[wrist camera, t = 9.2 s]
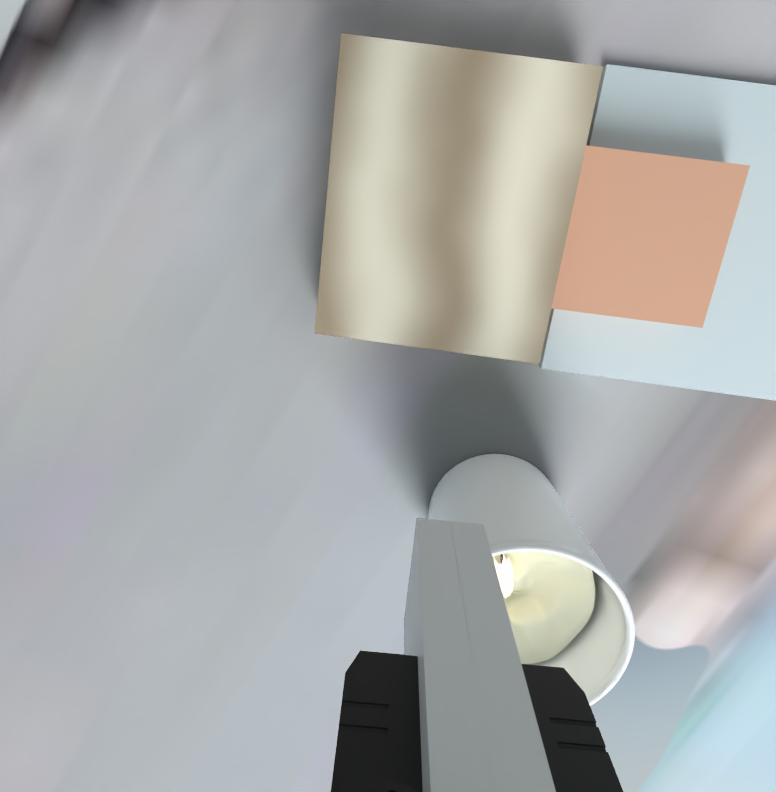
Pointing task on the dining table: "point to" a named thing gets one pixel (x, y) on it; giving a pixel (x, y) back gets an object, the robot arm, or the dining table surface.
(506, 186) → the birch board
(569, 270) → the terracotta tile
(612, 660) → the candle holder
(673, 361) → the rubber mat
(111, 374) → the dining table surface
